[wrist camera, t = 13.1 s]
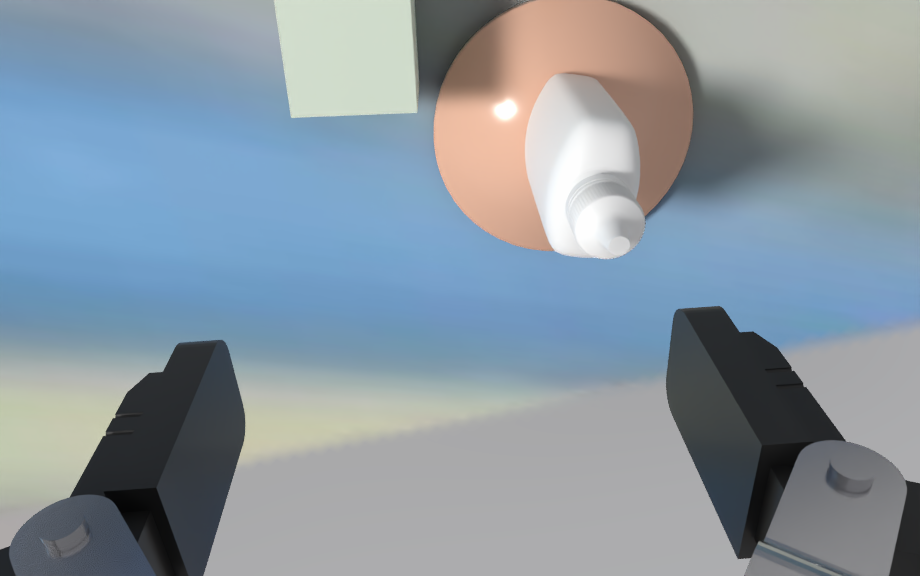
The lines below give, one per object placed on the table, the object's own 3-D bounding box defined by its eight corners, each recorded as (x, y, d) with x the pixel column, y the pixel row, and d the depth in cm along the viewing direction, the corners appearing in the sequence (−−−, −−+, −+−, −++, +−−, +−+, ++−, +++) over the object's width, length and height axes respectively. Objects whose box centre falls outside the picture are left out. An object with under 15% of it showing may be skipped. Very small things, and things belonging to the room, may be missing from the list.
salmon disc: (425, 0, 32) (425, 3, 31) (702, -13, 32) (708, -11, 31) (440, 249, 37) (440, 256, 37) (674, 238, 37) (678, 244, 37)
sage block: (294, -33, 31) (271, -19, 26) (412, -37, 31) (408, -24, 27) (309, 86, 33) (291, 117, 29) (419, 82, 33) (417, 112, 29)
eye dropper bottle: (638, 112, 33) (731, 217, 23) (558, 204, 35) (610, 339, 25) (566, 53, 32) (629, 137, 22) (487, 153, 34) (510, 273, 24)
